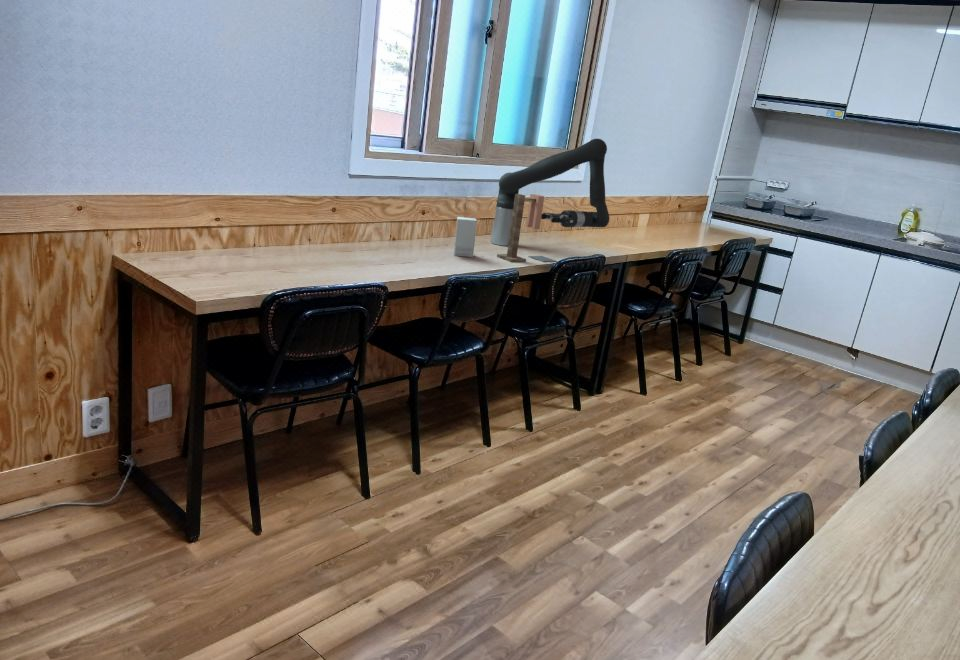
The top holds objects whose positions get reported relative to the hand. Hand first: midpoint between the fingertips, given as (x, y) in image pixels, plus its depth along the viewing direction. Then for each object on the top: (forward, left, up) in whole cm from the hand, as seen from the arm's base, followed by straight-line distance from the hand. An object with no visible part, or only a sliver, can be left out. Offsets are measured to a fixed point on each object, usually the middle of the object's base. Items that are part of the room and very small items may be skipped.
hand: (545, 218), depth 321 cm
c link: (0, -7, -4) cm, 8 cm away
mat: (+1, +1, -18) cm, 18 cm away
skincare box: (-9, -35, -18) cm, 41 cm away
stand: (0, -12, -18) cm, 21 cm away
